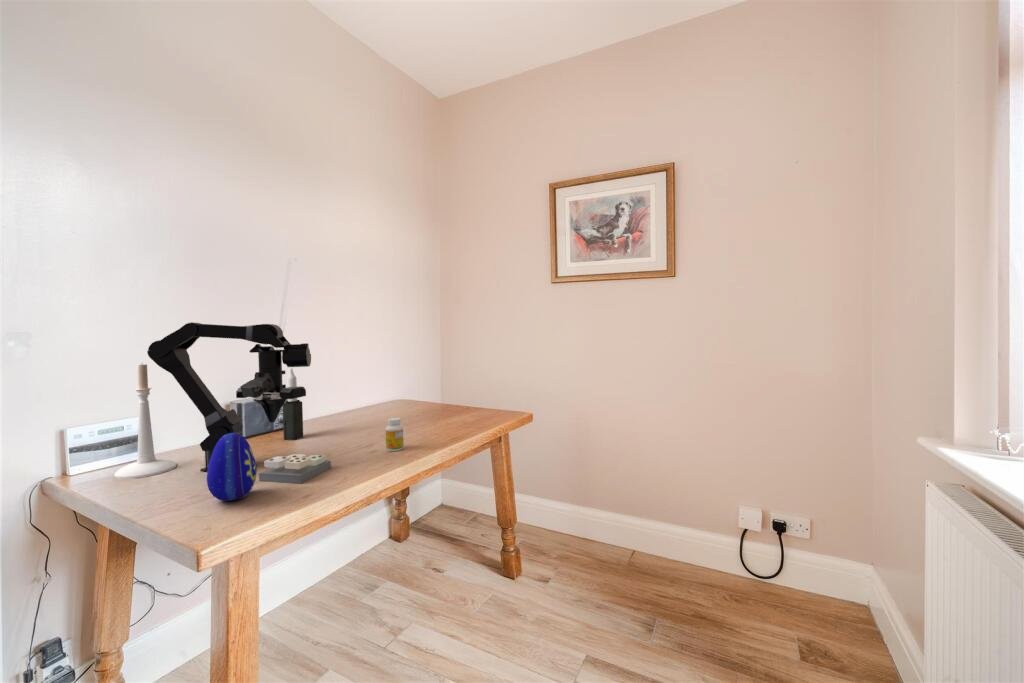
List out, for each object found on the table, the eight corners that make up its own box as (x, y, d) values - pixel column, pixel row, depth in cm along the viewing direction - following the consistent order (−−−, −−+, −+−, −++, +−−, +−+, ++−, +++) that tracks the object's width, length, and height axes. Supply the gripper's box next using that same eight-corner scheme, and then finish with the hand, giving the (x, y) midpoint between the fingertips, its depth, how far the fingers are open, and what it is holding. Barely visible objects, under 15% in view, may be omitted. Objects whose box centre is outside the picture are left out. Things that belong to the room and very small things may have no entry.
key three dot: (301, 465, 110) (301, 459, 110) (312, 460, 114) (312, 454, 114) (315, 466, 109) (315, 459, 109) (325, 461, 113) (325, 455, 113)
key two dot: (264, 467, 105) (264, 460, 105) (277, 461, 109) (276, 455, 109) (278, 467, 104) (278, 461, 104) (290, 462, 108) (290, 456, 108)
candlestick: (160, 476, 109) (156, 363, 108) (101, 481, 106) (96, 365, 105) (185, 461, 122) (181, 360, 121) (133, 465, 118) (129, 361, 118)
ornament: (250, 504, 90) (248, 436, 90) (200, 511, 87) (198, 441, 86) (261, 487, 100) (259, 426, 100) (217, 492, 97) (215, 429, 97)
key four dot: (284, 468, 104) (284, 461, 104) (296, 462, 108) (296, 456, 108) (299, 469, 103) (299, 462, 103) (310, 463, 107) (310, 457, 107)
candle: (282, 439, 145) (279, 368, 144) (292, 436, 150) (290, 367, 149) (295, 440, 144) (292, 369, 143) (304, 436, 149) (302, 367, 148)
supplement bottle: (382, 449, 131) (382, 419, 131) (397, 445, 135) (397, 416, 135) (391, 452, 127) (391, 421, 127) (406, 448, 131) (406, 418, 131)
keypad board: (259, 480, 105) (258, 473, 105) (293, 465, 116) (293, 458, 116) (300, 483, 102) (300, 475, 102) (330, 467, 114) (330, 460, 114)
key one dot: (282, 464, 111) (282, 458, 111) (293, 459, 115) (293, 453, 115) (295, 464, 110) (295, 458, 110) (306, 460, 114) (306, 454, 114)
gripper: (217, 370, 112) (219, 427, 112) (277, 371, 108) (278, 430, 108) (251, 366, 122) (253, 419, 123) (306, 367, 119) (308, 420, 119)
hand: (272, 422), depth 118 cm, fingers closed
